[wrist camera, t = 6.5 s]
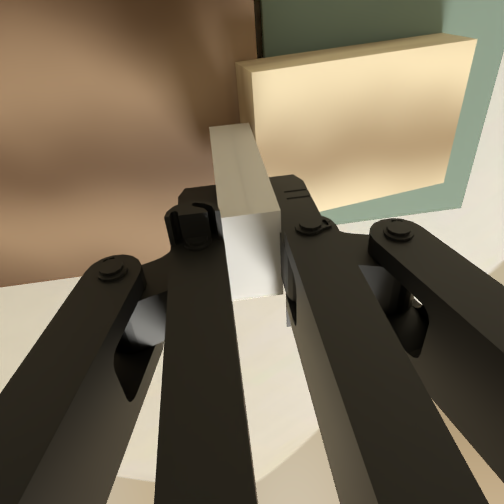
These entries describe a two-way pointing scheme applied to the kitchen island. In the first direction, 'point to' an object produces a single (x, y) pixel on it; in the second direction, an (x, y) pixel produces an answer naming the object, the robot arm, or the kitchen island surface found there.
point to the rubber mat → (389, 28)
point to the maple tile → (358, 114)
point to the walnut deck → (108, 123)
